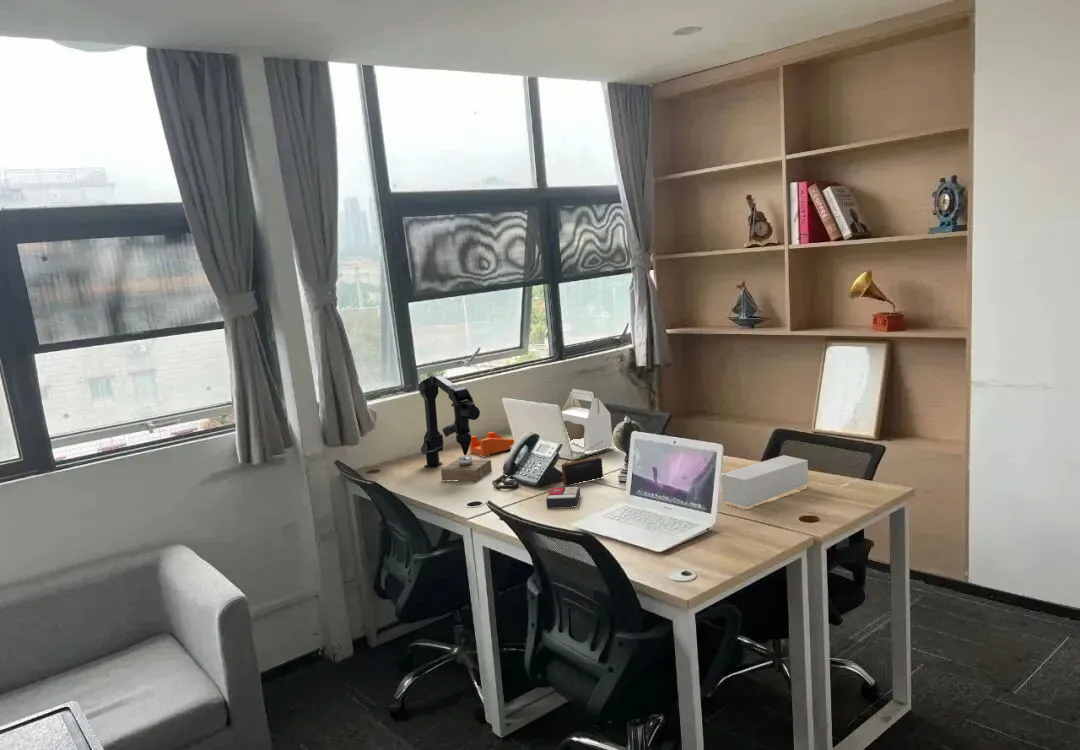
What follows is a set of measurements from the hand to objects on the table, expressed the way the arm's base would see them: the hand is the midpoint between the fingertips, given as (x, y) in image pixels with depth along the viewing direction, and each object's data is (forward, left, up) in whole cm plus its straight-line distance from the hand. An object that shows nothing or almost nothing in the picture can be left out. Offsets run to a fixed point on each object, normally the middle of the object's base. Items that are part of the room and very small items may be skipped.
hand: (465, 453), depth 329 cm
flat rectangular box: (+29, +53, -11) cm, 61 cm away
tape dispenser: (-41, -5, -11) cm, 43 cm away
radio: (+4, +54, -10) cm, 55 cm away
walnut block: (0, 0, -10) cm, 10 cm away
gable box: (-46, +40, -10) cm, 62 cm away
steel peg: (0, 0, -10) cm, 10 cm away
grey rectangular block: (+16, +124, -10) cm, 125 cm away
